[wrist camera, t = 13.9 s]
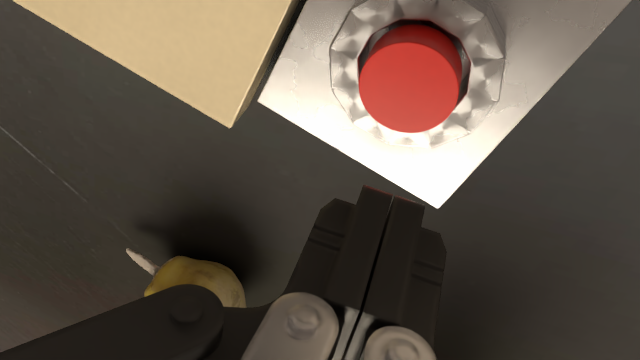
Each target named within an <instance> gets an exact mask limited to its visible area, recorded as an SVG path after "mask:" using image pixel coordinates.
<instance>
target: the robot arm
mask: <svg viewBox="0 0 640 360" xmlns="http://www.w3.org/2000/svg"><path fill="white" fill-rule="evenodd" d="M392 196H393V194H390V193H387V192H384V191H381V190H378V189H375V188H372V187H369V186H366V185H363V188H362V191H361V193H360V196H359V199H358V202H357V204H356V205H354V204H351V203H348V202H345V201H342V200H339V199H337V198H335V199H334V200H332V201H331V202H330V203H328V204H327V205H326V206H324V207H323V208H322V209H321V210H320V212H319V215H318V217H317V219H316V221H315V224H314V226H313V228H312V230H311V233H310V235H309V237H308V240H307V242H306V244H305V246H304V249H303V251H302V253H301V255H300V258H299V260H298V262H297V264H296V267H295V269H294V271H293V274H292V276H291V278H290V280H289V283H288V285H287V287H286V289H285V291H284V292H283V293H282V294H281V296H280V297H278V298H277V299H276V300H274V301H273V302H271V303H269V304H267V305H264V306H260V307H254V308H239V307H223V304H222V302H221V300H220V299H219V298H218V296H217V295H216V294H215V293H213V292H212V291H211V290H209V289H207V288H205V287H202V286H199V285H194V284H181V285H175V286H172V287H169V288H167V289H164V290H161V291H159V292H156V293H154V294H151V295H148V296H146V297H143V298H141V299H138V300H135V301H133V302H130V303H128V304H125V305H123V306H120V307H117V308H115V309H112V310H110V311H107V312H104V313H102V314H99V315H97V316H94V317H91V318H89V319H86V320H84V321H81V322H78V323H76V324H73V325H71V326H68V327H65V328H63V329H60V330H58V331H55V332H53V333H50V334H47V335H45V336H42V337H40V338H37V339H34V340H32V341H29V342H27V343H24V344H21V345H19V346H16V347H14V348H11V349H8V350H6V351H3V352H1V353H0V360H341V357H342V355H343V352H344V349H345V352H344V355H343V358H342V360H437V358H436V354H435V350H434V338H435V330H436V323H437V316H438V309H439V302H440V295H441V285H442V281H443V274H444V273H443V271H444V267H445V260H446V253H447V252H446V249H445V246H444V243H443V240H442V238H441V235H440V233H437V232H434V231H431V230H428V229H425V228H422V227H421V224H422V219H423V214H424V209H425V205H423V204H420V203H417V202H414V201H411V200H408V199H405V198H402V197H399V196H396V195H395V197H394V199H393V202H392V204H391V207H390V210H389V206H390V203H391V199H392ZM388 210H389V212H388ZM387 213H388V215H387ZM386 217H387V218H386ZM346 344H347V345H346ZM345 347H346V348H345Z"/></svg>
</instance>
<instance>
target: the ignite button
mask: <svg viewBox="0 0 640 360" xmlns="http://www.w3.org/2000/svg"><path fill="white" fill-rule="evenodd" d="M461 77H462V61H461V58H460V55H459V52H458V50H457V48H456V47H455V45H454V44H453V43H452V41H451V40H450V39H449V38H448V37H447V36H446V35H444V34H443V33H441V32H440V31H438V30H436V29H434V28H431V27H428V26H424V25H417V24H413V25H403V26H400V27H397V28H394V29H392V30H390V31H388V32H387V33H385V34H384V35H383V36H382V37H381V38H380V39H379V40H378V41H377V42H376V43H375V45H374V46H373V48H372V50H371V52H370V54H369V56H368V58H367V60H366V62H365V64H364V66H363V68H362V70H361V73H360V77H359V94H360V98H361V101H362V103H363V105H364V107H365V109H366V110H367V112H368V113H369V114H370V115H371V117H372V118H373V119H375V120H376V121H377V122H378V123H380V124H381V125H383V126H385V127H387V128H389V129H391V130H394V131H398V132H403V133H419V132H424V131H427V130H430V129H432V128H434V127H436V126H438V125H439V124H441V123H442V122H443V121H445V120H446V119H447V118H448V117H449V116H450V114H451V113H452V111H453V110H454V108H455V106H456V103H457V100H458V96H459V90H460V83H461Z"/></svg>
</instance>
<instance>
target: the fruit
mask: <svg viewBox="0 0 640 360" xmlns="http://www.w3.org/2000/svg"><path fill="white" fill-rule="evenodd" d="M126 252H127V253H128V254H129V255H130V257H131V258H132V259H133V260H134V261H136V262H137V263H138V264H139V265H140V266H142V267H143V268H144V269H145V270H148V272H149V273H150V274H151V275H153V277H154V278H153V280H152V282H151V283H150V285H149V286H147V288H146V290H145V294H144V295H145V297H146V296H148V295H151V294H154V293H156V292H159V291H161V290H164V289H167V288H169V287H172V286H175V285H181V284H194V285H199V286H202V287H205V288H207V289H209V290H211V291H212V292H213V293H215V294H216V295H217V296H218V298H219V299H220V300H221V302H222V304H223V307H239V308H246V301H245V294H244V290H243V287H242V285H241V283H240V281H239V280H238V279H237V277H236V275H235V274H234V273H233V271H232V270H231V269H229V268H228V267H226V266H224V265H222V264H219V263H216V262H210V261H204V260H195V259H192V258H189V257H186V256H176V257H174V258H172V259H170V260H168V261H167V262H165V263H164V264H163V265H162V266H156V265H155V264H154V263H153V262H152V261H151V260H149V259H148V258H146V257H145V256H143V255H142V254H140V253H137V252H135V251H133V250H131V249H129V248H127V250H126Z"/></svg>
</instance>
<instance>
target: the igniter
mask: <svg viewBox="0 0 640 360" xmlns="http://www.w3.org/2000/svg"><path fill="white" fill-rule="evenodd" d="M631 1H632V0H307V1H306V3H305V5H304V7H303V9H302V11H301V13H300V15H299V17H298V19H297V21H296V23H295V25H294V27H293V29H292V31H291V33H290V35H289V37H288V39H287V41H286V43H285V45H284V47H283V49H282V51H281V53H280V55H279V57H278V59H277V61H276V63H275V65H274V67H273V69H272V71H271V74H270V76H269V78H268V80H267V82H266V84H265V86H264V88H263V90H262V92H261V94H260V96H259V98H258V100H257V101H258V102H259V103H261V104H263V105H264V106H266V107H268V108H269V109H271V110H273V111H274V112H276V113H278V114H279V115H281V116H283V117H284V118H286V119H288V120H289V121H291V122H293V123H294V124H296V125H298V126H299V127H301V128H303V129H305V130H306V131H308V132H310V133H311V134H313V135H315V136H316V137H318V138H320V139H321V140H323V141H325V142H326V143H328V144H330V145H331V146H333V147H335V148H336V149H338V150H340V151H341V152H343V153H345V154H346V155H348V156H350V157H352V158H353V159H355V160H357V161H358V162H360V163H362V164H363V165H365V166H367V167H368V168H370V169H372V170H373V171H375V172H377V173H378V174H380V175H382V176H383V177H385V178H387V179H388V180H390V181H392V182H393V183H395V184H397V185H399V186H400V187H402V188H404V189H405V190H407V191H409V192H410V193H412V194H414V195H415V196H417V197H419V198H420V199H422V200H424V201H425V202H427V203H429V204H430V205H432V206H434V207H435V208H437V209H439V208H440V207H441V206H442V204H443V203H444V202H445V201H446V200H447V199H448V198H449V197H450V196H451V195H452V194H453V193H454V192H455V190H456V189H457V188H458V187H459V186H460V185H461V184H462V183H463V182H464V181H465V180H466V179H467V177H468V176H469V175H470V174H471V173H472V172H473V171H474V170H475V169H476V168H477V167H478V166H479V165H480V163H481V162H482V161H483V160H484V159H485V158H486V157H487V156H488V155H489V154H490V153H491V152H492V151H493V149H494V148H495V147H496V146H497V145H498V144H499V143H500V142H501V141H502V140H503V139H504V138H505V137H506V135H507V134H508V133H509V132H510V131H511V130H512V129H513V128H514V127H515V126H516V125H517V124H518V122H519V121H520V120H521V119H522V118H523V117H524V116H525V115H526V114H527V113H528V112H529V111H530V110H531V108H532V107H533V106H534V105H535V104H536V103H537V102H538V101H539V100H540V99H541V98H542V97H543V96H544V94H545V93H546V92H547V91H548V90H549V89H550V88H551V87H552V86H553V85H554V84H555V83H556V82H557V80H558V79H559V78H560V77H561V76H562V75H563V74H564V73H565V72H566V71H567V70H568V69H569V68H570V66H571V65H572V64H573V63H574V62H575V61H576V60H577V59H578V58H579V57H580V56H581V55H582V53H583V52H584V51H585V50H586V49H587V48H588V47H589V46H590V45H591V44H592V43H593V42H594V41H595V39H596V38H597V37H598V36H599V35H600V34H601V33H602V32H603V31H604V30H605V29H606V28H607V27H608V25H609V24H610V23H611V22H612V21H613V20H614V19H615V18H616V17H617V16H618V15H619V14H620V13H621V11H622V10H623V9H624V8H625V7H626V6H627V5H628V4H629V3H630V2H631ZM413 24H417V25H424V26H428V27H431V28H434V29H436V30H438V31H440V32H441V33H443V34H444V35H446V36H447V37H448V38H449V39H450V40H451V41H452V43H453V44H454V45H455V47H456V48H457V50H458V52H459V55H460V58H461V61H462V77H461V83H460V90H459V96H458V100H457V103H456V106H455V108H454V110H453V111H452V113H451V114H450V116H449V117H448V118H447V119H446V120H445V121H443V122H442V123H441V124H439V125H438V126H436V127H434V128H432V129H430V130H427V131H424V132H419V133H403V132H398V131H394V130H391V129H389V128H387V127H385V126H383V125H381V124H380V123H378V122H377V121H376V120H375V119H373V118H372V117H371V115H370V114H369V113H368V112H367V110H366V109H365V107H364V105H363V103H362V101H361V98H360V94H359V77H360V73H361V70H362V68H363V66H364V64H365V62H366V60H367V58H368V56H369V54H370V52H371V50H372V48H373V46H374V45H375V43H376V42H377V41H378V40H379V39H380V38H381V37H382V36H383V35H384V34H385V33H387V32H388V31H390V30H392V29H394V28H397V27H400V26H403V25H413Z"/></svg>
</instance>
